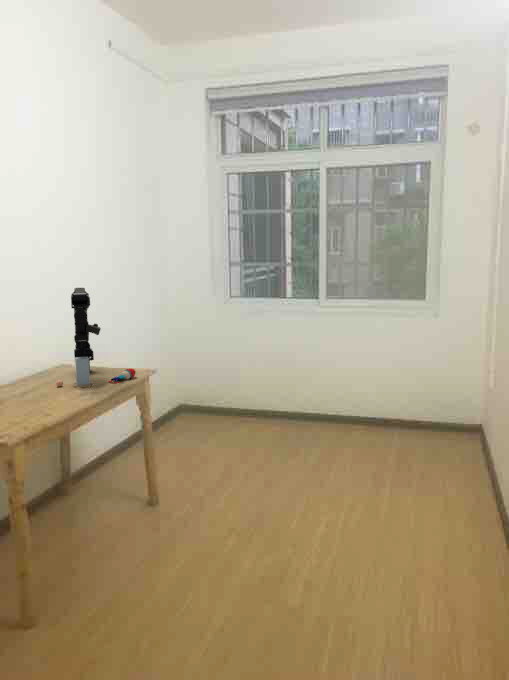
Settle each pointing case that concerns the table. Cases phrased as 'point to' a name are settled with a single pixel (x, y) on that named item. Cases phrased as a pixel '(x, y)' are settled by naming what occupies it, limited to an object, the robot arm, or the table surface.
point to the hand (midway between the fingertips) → (82, 352)
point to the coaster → (83, 385)
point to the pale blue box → (82, 371)
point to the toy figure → (124, 376)
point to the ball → (59, 383)
